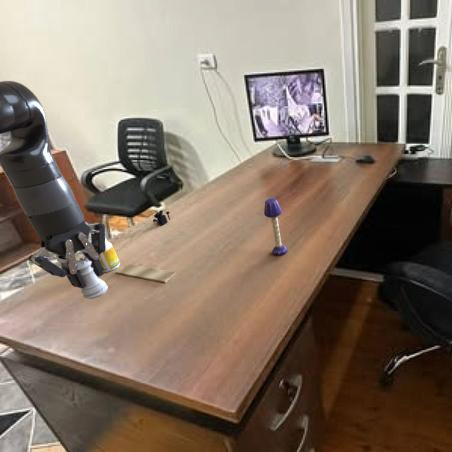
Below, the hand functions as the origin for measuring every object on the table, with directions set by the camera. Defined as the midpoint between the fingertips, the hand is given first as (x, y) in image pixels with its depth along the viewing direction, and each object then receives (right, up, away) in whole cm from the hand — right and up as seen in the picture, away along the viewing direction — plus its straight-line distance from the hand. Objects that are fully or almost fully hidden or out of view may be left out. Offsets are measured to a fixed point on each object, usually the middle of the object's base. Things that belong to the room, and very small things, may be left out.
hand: (90, 280), depth 70 cm
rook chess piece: (0, -3, +2) cm, 3 cm away
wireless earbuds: (-11, +11, +53) cm, 55 cm away
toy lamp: (+34, +3, +30) cm, 45 cm away
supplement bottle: (-16, -1, +31) cm, 35 cm away
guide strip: (-3, -2, +27) cm, 27 cm away
